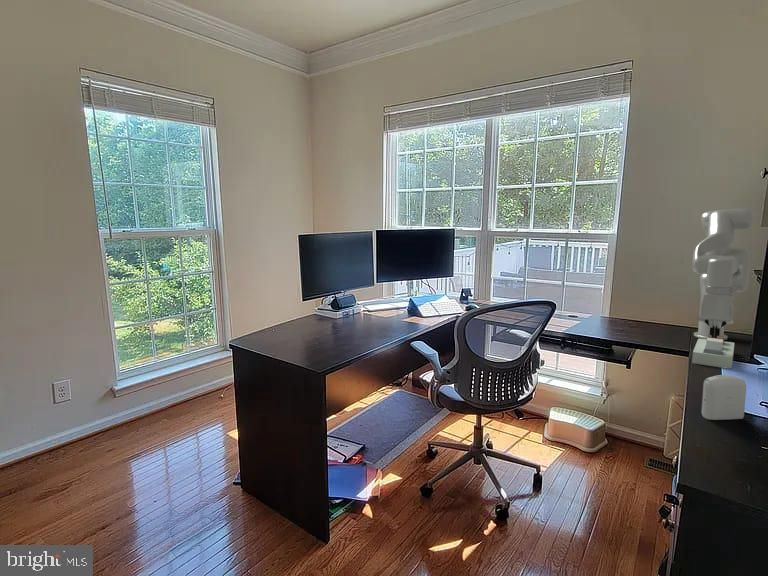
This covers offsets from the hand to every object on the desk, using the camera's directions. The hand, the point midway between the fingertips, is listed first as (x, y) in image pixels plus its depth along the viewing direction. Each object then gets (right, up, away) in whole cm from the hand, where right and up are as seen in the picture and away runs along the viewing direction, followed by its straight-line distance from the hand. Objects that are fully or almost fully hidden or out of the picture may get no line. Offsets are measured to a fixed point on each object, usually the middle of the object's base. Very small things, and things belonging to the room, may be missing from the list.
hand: (714, 337), depth 163 cm
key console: (+5, -9, +7) cm, 13 cm away
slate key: (0, -8, +1) cm, 8 cm away
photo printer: (-32, -18, -43) cm, 57 cm away
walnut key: (+10, -5, +12) cm, 17 cm away
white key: (+5, -6, +6) cm, 10 cm away
